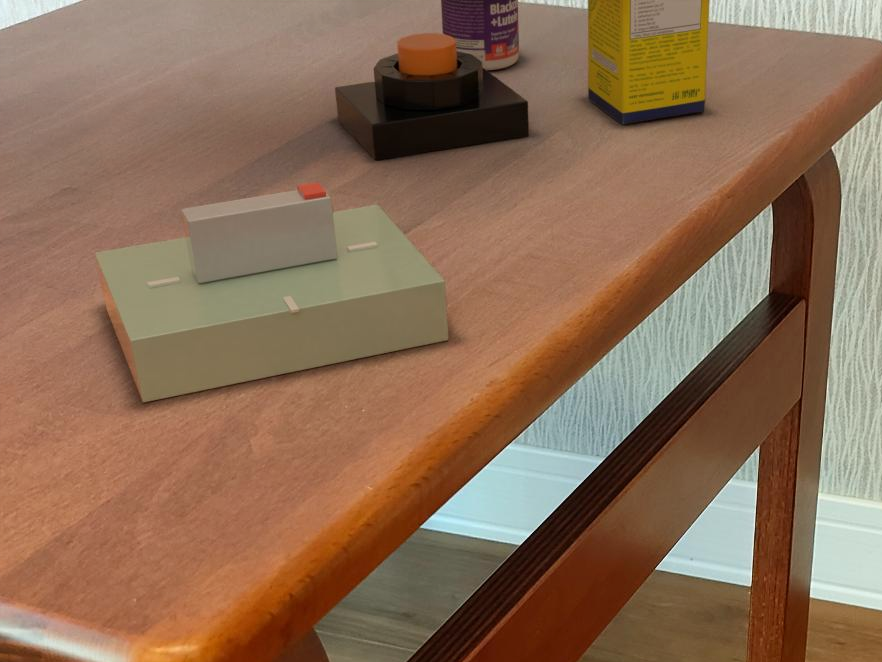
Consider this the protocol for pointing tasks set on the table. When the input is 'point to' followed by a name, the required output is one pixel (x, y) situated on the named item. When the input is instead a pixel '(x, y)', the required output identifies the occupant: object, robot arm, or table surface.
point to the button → (427, 54)
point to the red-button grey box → (260, 233)
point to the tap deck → (270, 309)
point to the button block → (430, 109)
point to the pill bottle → (484, 29)
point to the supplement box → (647, 57)
